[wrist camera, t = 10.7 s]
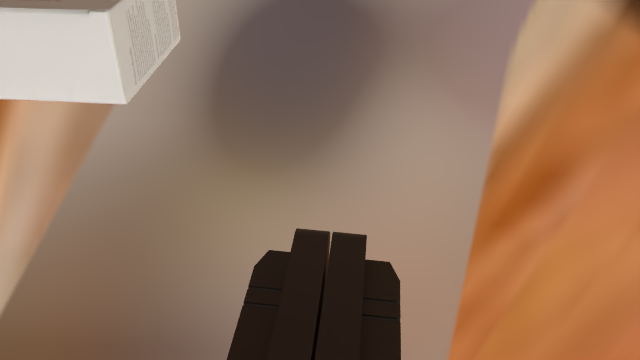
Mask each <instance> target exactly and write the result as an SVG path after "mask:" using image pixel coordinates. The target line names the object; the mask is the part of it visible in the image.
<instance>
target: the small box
mask: <svg viewBox="0 0 640 360" xmlns="http://www.w3.org/2000/svg"><path fill="white" fill-rule="evenodd" d="M179 41H180V30H179V23H178V16H177V8H176V1H175V0H0V99H6V100H28V101H55V102H78V103H101V104H122V105H126V104H127V103H128V102H129V101H130V100H131V99H132V97H133V96H134V95H135V94H136V93H137V92H138V90H139V89H140V88H141V87H142V85H143V84H144V83H145V82H146V81H147V80H148V78H149V77H150V76H151V75H152V74H153V72H154V71H155V70H156V69H157V68H158V66H159V65H160V64H161V63H162V62H163V60H164V59H165V58H166V57H167V56H168V54H169V53H170V52H171V51H172V49H173V48H174V47H175V46H176V45H177V44H178V42H179Z"/></svg>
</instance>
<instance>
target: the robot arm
mask: <svg viewBox="0 0 640 360" xmlns="http://www.w3.org/2000/svg"><path fill="white" fill-rule="evenodd" d="M366 239H367V236H366V235H360V234H350V233H340V232H333V234H332V241H331V248H330V255H329V247H330V232H328V231H317V230H308V229H296V231H295V235H294V239H293V244H292V248H291V252H283V251H273V250H269V251H268V252H267V253H266V254H265V255H264V256H263V258H261V260H260V261H259V262H258V263H257V264H256V265H255V266H254V269H253V273H252V276H251V279H250V283H249V288H248V290H247V293H246V297H245V300H244V305H243V306H242V310H241V313H240V317H239V320H238V323H237V327H236V330H235V333H234V337H233V340H232V344H231V348H230V350H229V354H228V357H227V360H401V338H400V337H401V333H400V280H399V278H398V276H397V275H396V273H395V271H394V269H393V267H392V265H391V264H390V262H384V261H374V260H365V255H366Z"/></svg>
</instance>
